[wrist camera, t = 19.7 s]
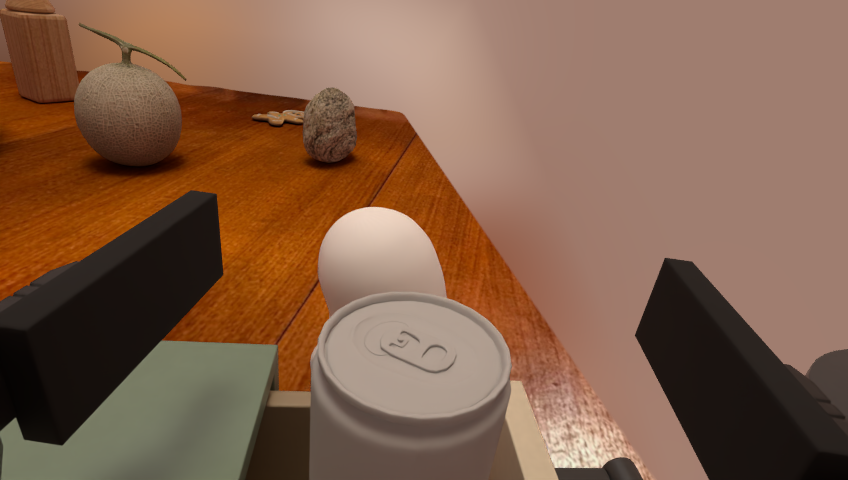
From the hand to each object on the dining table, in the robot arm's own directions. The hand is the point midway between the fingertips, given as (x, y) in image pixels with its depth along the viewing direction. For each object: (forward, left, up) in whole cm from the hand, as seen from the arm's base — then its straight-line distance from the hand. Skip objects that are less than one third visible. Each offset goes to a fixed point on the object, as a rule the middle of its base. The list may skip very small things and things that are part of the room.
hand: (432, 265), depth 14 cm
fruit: (+29, -47, -15) cm, 57 cm away
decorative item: (+55, -75, -15) cm, 94 cm away
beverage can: (+1, +3, -12) cm, 13 cm away
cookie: (+17, -76, -14) cm, 79 cm away
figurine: (0, -9, -15) cm, 17 cm away
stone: (+7, -55, -15) cm, 57 cm away
